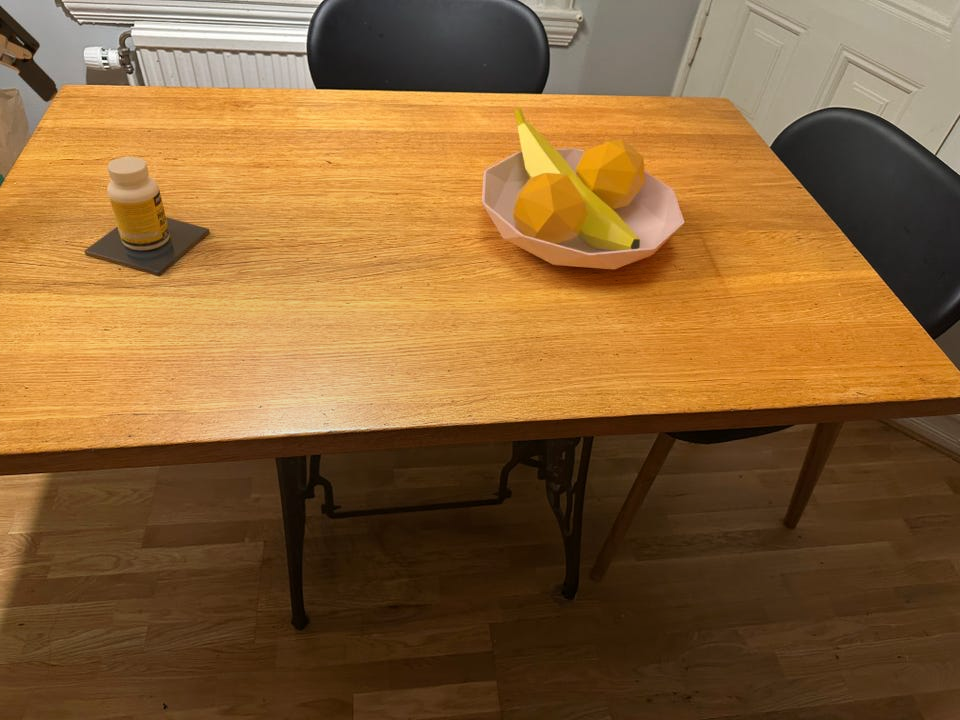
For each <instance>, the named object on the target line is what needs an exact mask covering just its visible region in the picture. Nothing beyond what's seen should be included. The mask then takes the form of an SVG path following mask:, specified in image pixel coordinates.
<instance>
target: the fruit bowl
mask: <svg viewBox="0 0 960 720" xmlns="http://www.w3.org/2000/svg"><path fill="white" fill-rule="evenodd" d="M513 114H514V116H515V119H516V122H517V124H518V125H517V126H516V127H517V134H518V138H519V144H520V147H521V150H519V151H517V152H515V153H514V154H511V155H510V156H508V157H506V158H504V159H503V160H501V161H499V162H497V163H495V164H493V165H491V166H489V167H488V168H486V169H484V170H483V176H482V192H481V193H482V194H481V204H482V206H483V207H484V209H485V211H486V212H487V214H488V216H489V218H490V220H491V221H492V222H493V224H494V225H495V228H496V229H497V231H498V233H499V234H500V236H501V238H502V239H503V240H504V241H507V242H509V243H511V244H512V245H515V246H517V247H518V248H521V249H522V250H524V251H526V252H528V253H530V254H532V255H534V256H536V257H537V258H540V259H542V260H544V261H545V262H547V263H549V264H552V265H553V266H565V267H576V268H577V267H578V268H589V269H590V268H592V269H603V270H617V269H619V268H622V267H625V266H627V265H630V264H633V263H636V262H638V261H640V260H643V259H646V258H649V257H651V256H653V255H654V254H656V252H657V251H658V250H659V249H661V247H663V245H664V244H666V242H667V241H668V240H669V239H670V238H671V237H672V236H673V235H674V234H675V233H676V232H677V231H678V230H679V229H680V228H681V227H682V226H683V225H684V224H685V223H686V222H685V220H684V217H683V214H682V211H681V208H680V204H679V202H678V198H677V196H676V194H675V193H676V192H675V190H674V188H672V187H671V186H669V185H667V183H664V182H663V181H661V180H660V179H658V178H656V176H654V175H652V174H650V173H649V172H648V171H646V170H645V160H644V158H645V157H644V155H643V154H641V153H640V152H639V151H638V150H637V149H636V148H634V147H633V146H632V145H631V144H629V143H628V142H627V140H625V139H624V138H623V137H619V138H616V139H612V140H608V141H606V142H604V143H601V144H599V145H595V146H593V147H590V148H589V149H585V150H584V149H579V148H576V147H570V148H569V147H567V148H555V147H554V146H553V145H552V144H551V143H550V142H549V141H548V140H547V139H546V138H545V137H544V136H543V135H542V134H541V133H540V132H539V131H537V129H536V128H535V127H534V126H533V125H532V124H531V123H530V122H526V119H525V116H524V114H523V111H522V108H517V109H515V110H513Z"/></svg>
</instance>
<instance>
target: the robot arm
mask: <svg viewBox="0 0 960 720" xmlns="http://www.w3.org/2000/svg"><path fill="white" fill-rule="evenodd" d="M40 47H41V45H40V43H39V41H38V40H37V39H36V38H35V37H34V36H33V35H32V34H31V33H30V32H29V31H28V30H27V29H26V28H24V26H22V25H21V24H20V23H19V22H18V21H17V20H16V19H15V18H14V17H13V16H12V15H11V14H10V13H9V12H8V11H6V9H5V8H4V7H2V6H1V5H0V65H2V66H4V67H7V68H9V69H11V70H14V71H15V72H18V73H17V75H18V76H19V78H21V79H22V81H24V83H25V84H26V85H28V87H30V89H31V90H32V91H34V92H35V93H36V95H38V97H39V98H40V99H41V100H42V101H44V102H46V103H49V102H51V101H52V100H54V99H55V97H56V96H57V94H58V87H57V84H56V82H55V81H54V80H53V79H52V78H51V77H50V76H49V74H48V73H46V71H44V69H42V67H41V66H40V65H38V63H37V62H36V61H35V59H34V56H35V55H36V53H37V51H38V50H39V49H40Z"/></svg>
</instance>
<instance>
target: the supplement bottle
mask: <svg viewBox="0 0 960 720" xmlns="http://www.w3.org/2000/svg"><path fill="white" fill-rule="evenodd" d="M107 171H108V175H109V178H110V181H109V183H108V184H107V187H106V191H107V196H108V199H109V202H110V206H111V209H112V212H113V216H114V220H115V223H116V227H118V230H119V233H120V237H121V240H122V242H123V244H124V245H125V246H126V247H128V248H130V249H133V250H151V249H155V248H158V247H160V246H162V245H164V244H165V243H166V242H167V241H168V240H169V237H170V233H169V228H168V224H167V219H166V217H167V216H166V211H165V207H164V203H163V199H162V194H161V191H160V187H159V184H158V182H157V180H155V179H154V177H152V176H150V173H149V168H148V165H147V162H146V161H145V160H144V159H143V158H141V157H137V156H121V157H118V158H115V159H113V160H111V161H110V162H108V164H107Z"/></svg>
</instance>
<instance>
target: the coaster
mask: <svg viewBox="0 0 960 720" xmlns="http://www.w3.org/2000/svg"><path fill="white" fill-rule="evenodd" d="M166 219H167V224H168V228H169V233H170V237H169V240H168V241H167V242H166V243H165V244H164V245H162V246H160V247H158V248H155V249H151V250H133V249H130V248H128V247H126V246H125V245H124V244H123V242H122V240H121V237H120V233H119V230H118V227H117V226H115V227H114V228H112V230H110V231H109V232H108V233H106V234H105V235H104V236H102V237H101V238H99V239H98V240H96V241H95V242H94V243H92V244H91V245H90V246H89V247H87V248H86V249H84V251H83V252H84V254H85V256H89V257H92V258H96V259H99V260H102V261H106V262H109V263H113V264H116V265H120V266H122V267H123V266H124V267H127V268H131V269H134V270H136V271H141V272H144V273H148V274H152V275H155V276H159V277H161V276H163V274H164V273H165V272H166V271H168V270H169V269H170V268H171V267H172V266H173V265H174V264H176V263H177V262H178V261H179V260H180V259H181V258H183V257H184V256H185V255H186V254H187V253H188V252H189V251H191V250H192V249H193V248H194V247H195V246H196V245H198V244H199V243H200V242H201V241H202V240H203V239H204V238H206V237H207V236H208V235H209V234H210V233H211V232H210V231H211V230H210V228H208V227H204V226H200V225H196V224H193V223H189V222H186V221H182V220H178V219H174V218H171V217H167V216H166Z"/></svg>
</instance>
